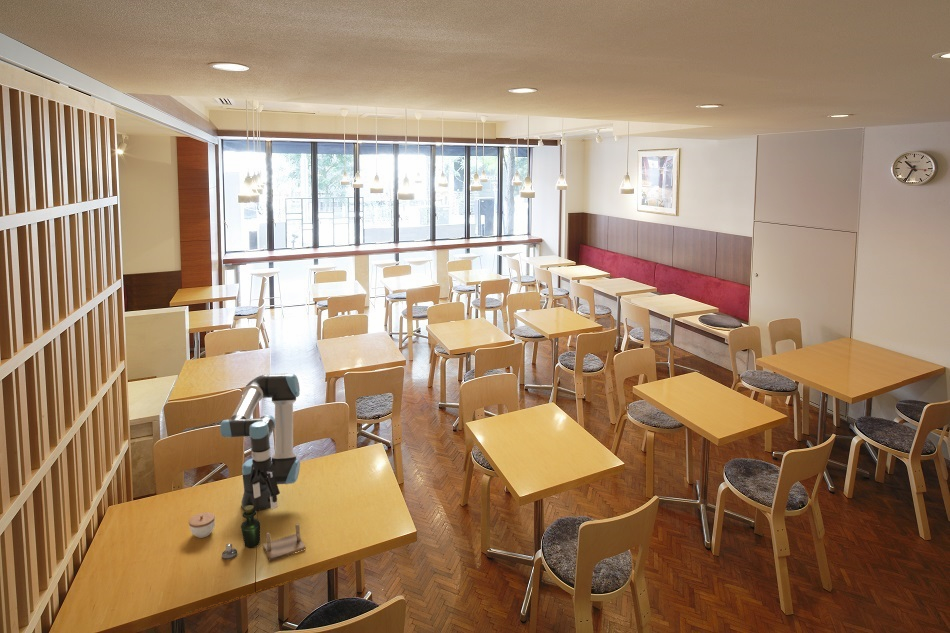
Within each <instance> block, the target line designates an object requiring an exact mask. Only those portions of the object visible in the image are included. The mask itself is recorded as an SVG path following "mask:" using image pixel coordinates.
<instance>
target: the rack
mask: <svg viewBox="0 0 950 633" xmlns="http://www.w3.org/2000/svg"><path fill="white" fill-rule="evenodd" d="M265 540H266V543H263V544H262V545H263V546H262V547H263V549H264V552H265V553H267V554H266V556H267V557H268V560H269V562H270V563H271V562H274V561H278V560H279V559H283V558H286V557H289V556H292V555H294V554H293V553H295V552H298V551H301V550H304V549H307V548H306V546H305V543H304V542H303V540H302V538H301V530H300V524H299V523H295V533H294V534H290V535H287V536H284V537H281V538H278V539H275V540H271V532H266V534H265ZM304 551H305V550H304ZM301 552H302V551H301ZM298 553H299V552H298ZM291 554H292V555H291ZM295 554H296V553H295ZM288 555H289V556H288Z"/></svg>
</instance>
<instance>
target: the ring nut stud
mask: <svg viewBox="0 0 950 633" xmlns="http://www.w3.org/2000/svg"><path fill="white" fill-rule="evenodd" d="M237 556H238V550H237V549H236V548H233V544H232V543H231V542H229V543H227V544H225V550H224V551H223V552H222V553H221V557H222V559H223V560H225V561H227V560H232V559H234V558H235V557H237Z"/></svg>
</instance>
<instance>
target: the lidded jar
mask: <svg viewBox="0 0 950 633" xmlns="http://www.w3.org/2000/svg"><path fill="white" fill-rule="evenodd" d="M215 518H216V517H215V514H214V513H213V512H209V511H208V512H207V511H206V512H205V511H204V512H200V513H197V514H194V515H193V516H191V517H190V518H189V520H188V525H189V529H190V532H191V534H192V535H193V536H195V537H196V538H197V539H198V538H199V539H200V538H201V539H202V538H206V537H208V536H210V534H211V533H212V531H214V528H215V526H216V519H215Z"/></svg>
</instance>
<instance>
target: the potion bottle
mask: <svg viewBox="0 0 950 633" xmlns="http://www.w3.org/2000/svg"><path fill="white" fill-rule="evenodd" d="M253 508H254V506H253V505H248V506H246V507H245V508H244V509H245V510H244V509H243V510H244V511H243V513H242V517H243V519H245V520H243V522H241V525H240V530H241V536H242V539H243V544H244V547H245V548H247V549H254V548H256V547H258V546H259V545H260V543H261V522H260V520H259V519H258V518H255V516H257V512H258V511H256V510H254V509H253Z"/></svg>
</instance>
